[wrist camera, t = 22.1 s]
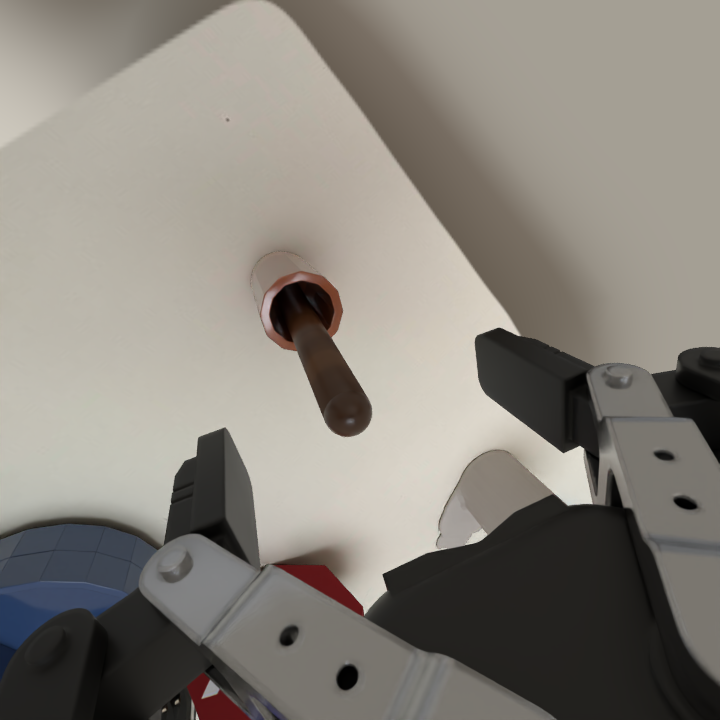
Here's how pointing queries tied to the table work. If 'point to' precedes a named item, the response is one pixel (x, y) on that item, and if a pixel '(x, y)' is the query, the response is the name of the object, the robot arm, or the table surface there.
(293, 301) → the stirring stick
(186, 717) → the battery charger
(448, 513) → the candle
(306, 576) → the alarm clock
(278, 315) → the utensil pot
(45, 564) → the bowl
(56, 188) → the table surface
